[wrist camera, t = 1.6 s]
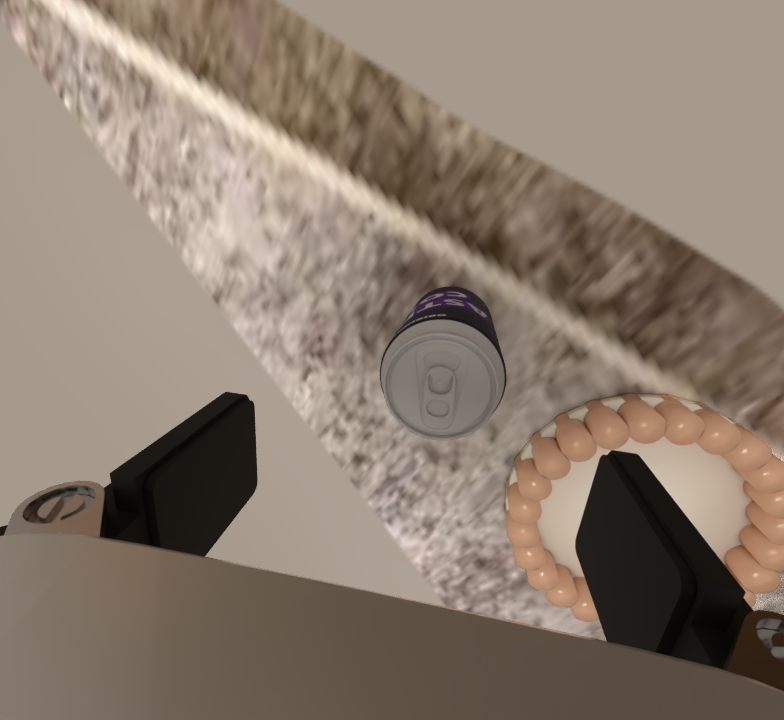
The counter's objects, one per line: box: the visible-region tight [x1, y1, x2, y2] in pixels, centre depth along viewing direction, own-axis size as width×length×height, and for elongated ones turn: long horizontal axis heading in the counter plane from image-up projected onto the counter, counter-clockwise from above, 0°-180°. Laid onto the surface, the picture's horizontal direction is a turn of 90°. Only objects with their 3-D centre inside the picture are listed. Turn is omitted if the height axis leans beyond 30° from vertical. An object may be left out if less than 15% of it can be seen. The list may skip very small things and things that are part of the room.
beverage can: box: [380, 287, 506, 440], centre depth 22 cm, size 6×6×12 cm
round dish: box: [504, 393, 784, 622], centre depth 28 cm, size 18×18×3 cm
